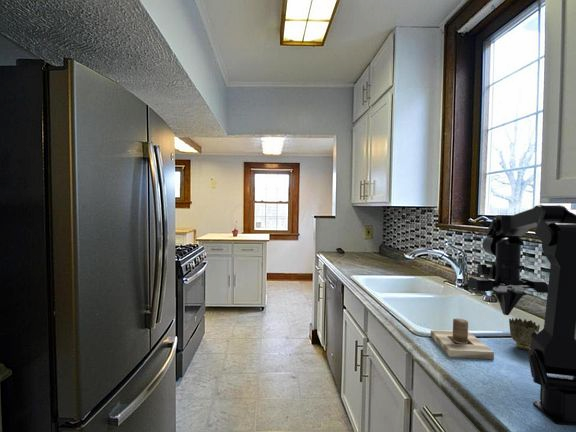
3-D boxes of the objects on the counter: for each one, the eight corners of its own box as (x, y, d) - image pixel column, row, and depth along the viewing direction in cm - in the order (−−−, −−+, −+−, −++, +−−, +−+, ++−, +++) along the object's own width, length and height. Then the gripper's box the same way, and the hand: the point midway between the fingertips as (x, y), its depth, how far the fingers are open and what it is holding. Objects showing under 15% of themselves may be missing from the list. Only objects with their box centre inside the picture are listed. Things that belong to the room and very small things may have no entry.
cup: (544, 355, 90) (545, 328, 89) (515, 352, 91) (516, 325, 91) (529, 343, 97) (530, 318, 97) (503, 341, 98) (504, 316, 98)
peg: (470, 350, 92) (471, 323, 92) (455, 349, 92) (456, 323, 92) (463, 344, 96) (464, 318, 96) (449, 343, 97) (450, 318, 96)
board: (493, 359, 87) (494, 352, 87) (449, 357, 88) (449, 350, 88) (468, 337, 101) (468, 331, 101) (430, 336, 102) (430, 330, 102)
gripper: (522, 255, 94) (520, 306, 95) (459, 254, 96) (457, 304, 96) (551, 262, 83) (548, 319, 84) (479, 260, 84) (477, 317, 85)
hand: (505, 314), depth 87 cm, fingers closed
